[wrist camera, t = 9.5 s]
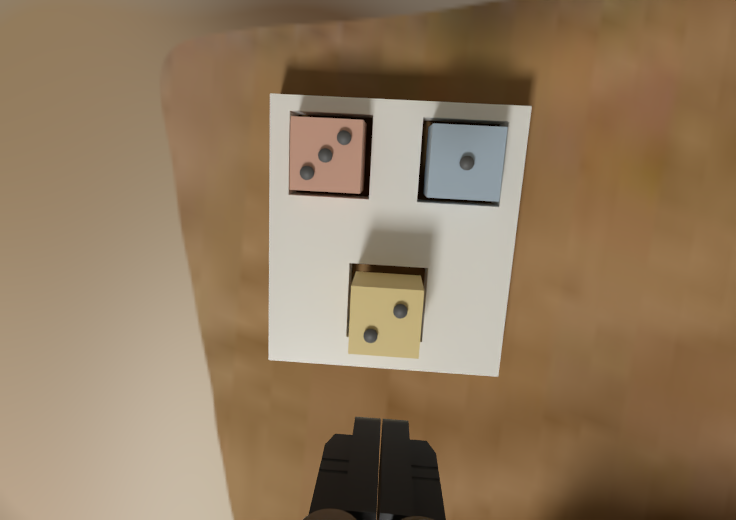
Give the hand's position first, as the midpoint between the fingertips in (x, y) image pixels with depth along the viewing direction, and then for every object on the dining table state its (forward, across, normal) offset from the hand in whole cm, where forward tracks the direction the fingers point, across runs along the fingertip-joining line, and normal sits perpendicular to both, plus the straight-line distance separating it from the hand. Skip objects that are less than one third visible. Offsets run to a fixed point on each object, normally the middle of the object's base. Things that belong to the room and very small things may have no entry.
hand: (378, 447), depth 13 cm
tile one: (+15, -3, -8) cm, 17 cm away
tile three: (+15, +4, -8) cm, 17 cm away
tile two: (+13, 0, 0) cm, 13 cm away
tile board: (+15, 0, -3) cm, 16 cm away
